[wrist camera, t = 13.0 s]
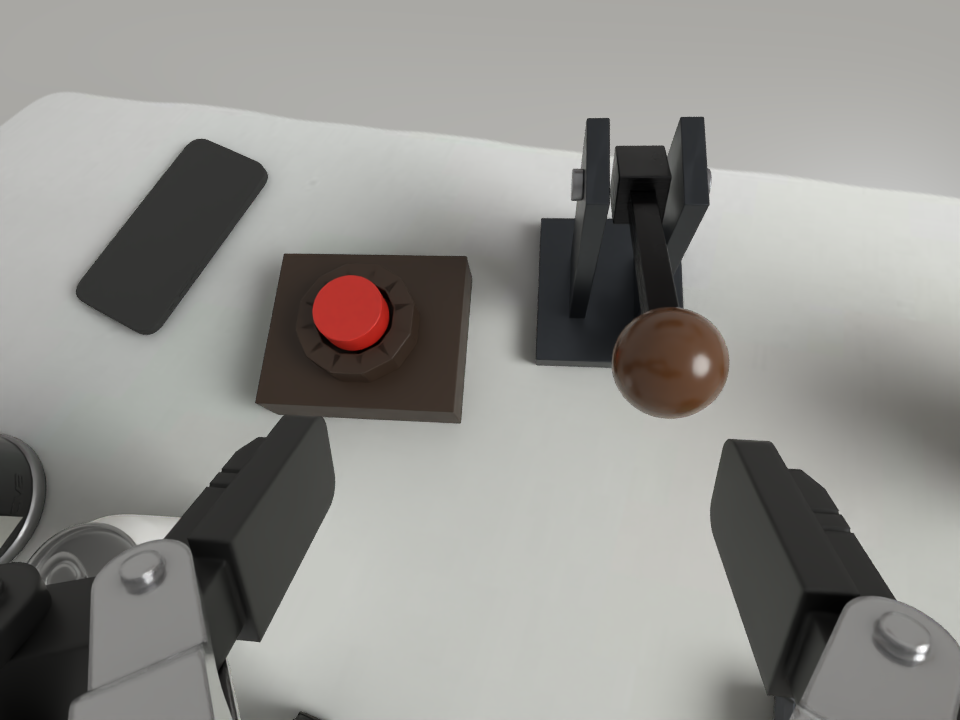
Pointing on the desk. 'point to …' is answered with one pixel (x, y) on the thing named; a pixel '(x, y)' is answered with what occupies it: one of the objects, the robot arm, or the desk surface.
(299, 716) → the ink cartridge
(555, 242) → the switch bracket
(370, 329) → the stop button
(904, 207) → the desk surface
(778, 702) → the disk drive
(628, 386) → the power lever
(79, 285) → the phone
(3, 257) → the desk surface
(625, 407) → the desk surface
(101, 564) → the can
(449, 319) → the control block
